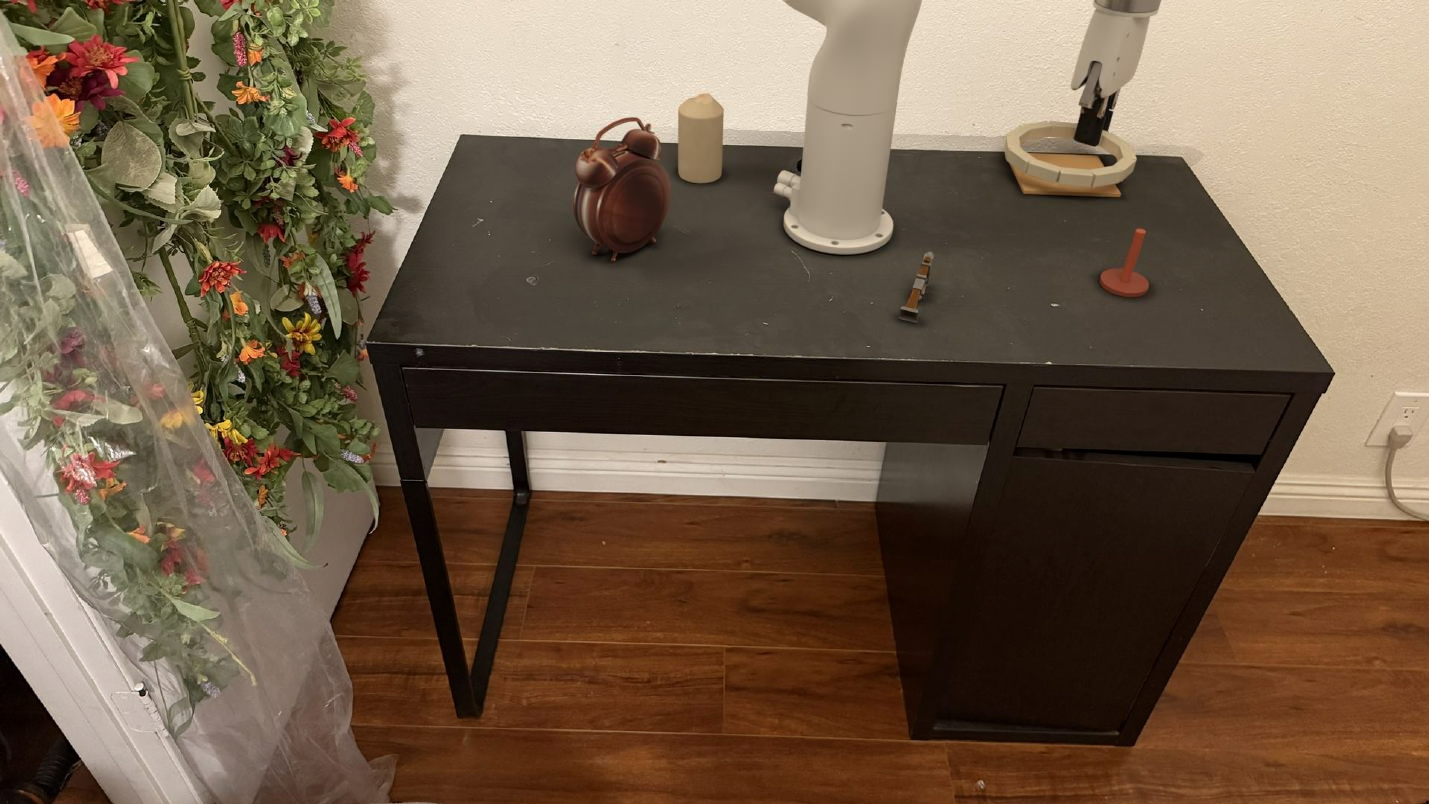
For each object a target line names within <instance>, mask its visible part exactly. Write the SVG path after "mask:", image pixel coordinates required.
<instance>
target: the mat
mask: <svg viewBox="0 0 1429 804" xmlns="http://www.w3.org/2000/svg"><path fill="white" fill-rule="evenodd" d="M1027 153H1028V154H1030V155H1031V156H1032V157H1034V158H1035V159H1037V160H1040V161H1043V162H1046V163H1049V164H1053V165H1056V166H1059V167H1064V168H1075V169H1086V170H1091V169H1097V168H1103V167H1105V166H1104V164H1103V162H1102V161H1101V159H1100V158H1099V156H1098V155H1092V154H1087V155H1086V154H1063V153H1036V152H1035V153H1033V152H1032V153H1031V152H1027ZM1009 165H1010V167H1011V170H1012V173H1013V174H1014V176H1015V178H1016V181H1017V183H1018V186H1019V187H1020V190H1021V192H1022V194H1023V195H1044V196H1045V195H1047V196H1076V197H1078V196H1079V197H1101V198H1102V197H1103V198H1105V197H1106V198H1121V195H1122V193H1121V191H1120V190H1119V188H1118V186H1117V185H1116V184H1110V185H1104V186H1099V187H1092V186H1090V187H1080V186H1069V185H1058V182H1056V183H1055V184H1054V183H1051V182H1048V181H1045V180H1041V179H1038V178H1035V177H1032V176H1029V175H1026V173H1022V172H1021V171H1020V170H1018V169H1017V168H1016V167H1014V166H1013V165H1012V164H1010V163H1009Z"/></svg>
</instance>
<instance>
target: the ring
mask: <svg viewBox="0 0 1429 804" xmlns="http://www.w3.org/2000/svg"><path fill="white" fill-rule="evenodd" d="M1077 124H1078V122H1068V121H1067V122H1065V121H1055V120H1054V121H1053V120H1049V121H1047V120H1045V121H1038V122H1032V123H1024V124H1022V125H1021V124H1020V125H1018V126H1017V127H1016V128H1014V129H1013V130H1011V131H1010V132H1008V133H1007V134H1006V135H1005V139H1004V144H1003V149H1004V150H1003V151H1004V158H1005V159H1004V160H1006V162H1008V163H1009V165H1010V164H1012V165H1013V166H1014V167H1016V168H1017V169H1018V170H1020V171H1021V172H1022V173H1026V175H1029V176H1032V177H1035V178H1038V179H1041V180H1045V181H1048V182H1051V183H1054V184H1055V183H1056V182H1058V185H1069V186H1080V187H1090V186H1092V187H1099V186H1104V185H1110V184H1115V185H1116V184H1119V183H1120V182H1123V181H1124V180H1125V179H1127V178H1128V177H1129V176H1130V175H1131V174H1132V173H1133V172H1134V169H1135V166H1136V163H1137V159H1138V158H1137V156H1136V153H1135V150H1134V148H1133V147H1134V146H1133V145H1131V144H1130V143H1129V142H1127V141H1126V140H1125V139H1122V138H1120V137H1119V136H1118V135H1116V134H1114V133H1113V132H1110V131H1109V130H1108V131H1104V130H1103V131H1102V134H1101V138H1100V141H1099V144H1098V145H1097V146H1096V147H1100V148H1101V149H1103V150H1104V151H1106V152H1107V153H1109V154H1110V155H1112V156H1113V157H1115V159H1116V162H1115V163H1114V164H1113V165H1110V166H1104V167H1103V168H1097V169H1091V170H1086V169H1075V168H1064V167H1059V166H1056V165H1053V164H1049V163H1046V162H1043V161H1040V160H1037V159H1035V158H1034V157H1032V156H1031V155H1030V154H1028V153H1029V152H1027V151H1026V150H1024V149H1023V148H1021V146H1022V145H1024V144H1026V143H1027V142H1028V141H1034V140H1039V139H1045V138H1054V139H1055V138H1056V139H1069V140H1074V136H1075V132H1076V128H1077Z"/></svg>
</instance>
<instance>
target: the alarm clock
mask: <svg viewBox="0 0 1429 804" xmlns="http://www.w3.org/2000/svg"><path fill="white" fill-rule="evenodd" d="M631 122H636V124H637V125H638V126H639V128H633V129H630V130H628V131H627V132H626V133H625V134H624V136H623V138H622V139H621V141H620V143H619V144H617V145H615V146H614V147H611V148H608V149H606V148H604V147H603V146H599V144H600V142H601V138H602V137H603V136H604V135H605V134H606V133H607V132H609V131H611V130H612V129H614V128H615V127H618V126H620V125H623V124H626V123H631ZM651 130H652V124H651V123H646V124H645V125H644V124H643V121H642V120H641V119H640V118H639V117H636V116H630V117H623V118H620V119H617V120H615V121H613V122H611V123H609V124H608V125H605V126H604V127H603V128H602V129H600V130H599V131H598V133H597V134H596V137H595V139H594V142H593V144H592V146H591V147H588V148H586V149H584V150H583V151H581V152H580V154H579V155H578V157H577V158H576V160H575V162H574V173H575V175H576V178H577V180H578V181H577V183H576V187H575V190H574V194H573V202H572V203H573V204H572V208H573V209H572V210H573V216H574V219H575V223H576V224H577V226H578V228H579V229H580V231H581V232H582V234H584V235H585V236H587V237H588V238H589V239H591V240H592V241H593V242H595V243H594V249H593V251H592V255H593V256H597V254H598V250H599V248H600V246H601V247H604V248H607V249H608V250H611V251H612V256H611V259H610V261H612V262H615V261H616V260H617V259H616V257H617V256H618V253H620V254H623V253H624V254H626V253H631V252H635V251H637V250H639V249H641V248H643V247H644V246H645V245H646V244H648V243H649V242H650V241H651V243H654V244H655V243H656V242H657V241H656V238H654V237H655V236H656V234H657V233H658V232H659V230H660V229H661V227H662V225H663V223H664V222H665V219H666V217H667V214H668V211H669V209H670V208H669V207H670V204H671V198H672V197H671V196H672V188H671V181H670V178H669V174H668V172H667V171H666V169H665V168H664V166H663V165H662V164H661V163H659V162H658V161H660V160H661V157H662V156H661V155H662V150H663V149H662V147H663V146H662V142H661V140H660V138H659V137H657V135H656V133H655V132H654V131H651ZM656 160H657V161H656Z"/></svg>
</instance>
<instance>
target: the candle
mask: <svg viewBox="0 0 1429 804" xmlns="http://www.w3.org/2000/svg"><path fill="white" fill-rule="evenodd" d="M724 113H725V109H724V107H723V106H722V104H720V102H718V100H716V99H715V98H714V97H713V96H712V95H711V94H710V93H709V92H707V93H705V92H704V93H700V94H698V95H697V96H693V97H689V98H688V99H685V100H684V101H683V102H682V103H681V104H680V105H679V106H678V108H677V123H678V124H677V127H678V128H677V138H678V139H677V168H678V169H677V170H678V171H677V172H678V176H679V177H680V178H681V179H682V180H684V181H685V182H689V183H694V184H708V183H713V182H715V181H717V180H719V179H721V177H722V173H723V149H724V147H723V146H724V117H725V115H724Z"/></svg>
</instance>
